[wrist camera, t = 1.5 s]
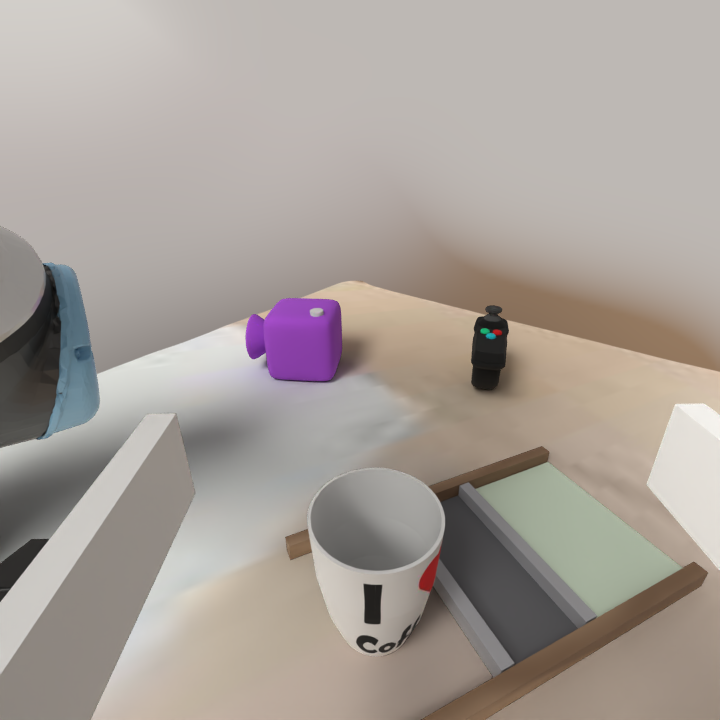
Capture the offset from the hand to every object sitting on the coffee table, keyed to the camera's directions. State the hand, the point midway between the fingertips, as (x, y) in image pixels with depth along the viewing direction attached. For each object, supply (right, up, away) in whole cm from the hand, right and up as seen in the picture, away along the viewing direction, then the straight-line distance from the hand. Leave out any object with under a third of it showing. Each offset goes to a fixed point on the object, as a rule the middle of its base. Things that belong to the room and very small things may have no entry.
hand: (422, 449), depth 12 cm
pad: (+16, -12, +25) cm, 32 cm away
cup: (-1, -16, +19) cm, 24 cm away
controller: (+15, -1, +46) cm, 49 cm away
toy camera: (-11, +1, +52) cm, 53 cm away
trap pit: (+8, -14, +22) cm, 27 cm away
